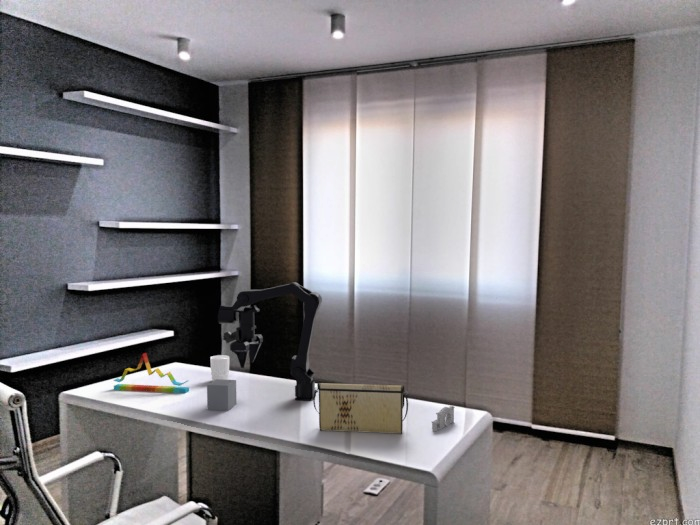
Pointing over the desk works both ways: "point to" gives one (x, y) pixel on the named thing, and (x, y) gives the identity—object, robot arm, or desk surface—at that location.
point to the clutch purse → (361, 407)
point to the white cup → (220, 367)
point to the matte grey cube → (221, 395)
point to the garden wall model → (443, 418)
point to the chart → (149, 387)
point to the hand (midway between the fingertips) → (247, 365)
